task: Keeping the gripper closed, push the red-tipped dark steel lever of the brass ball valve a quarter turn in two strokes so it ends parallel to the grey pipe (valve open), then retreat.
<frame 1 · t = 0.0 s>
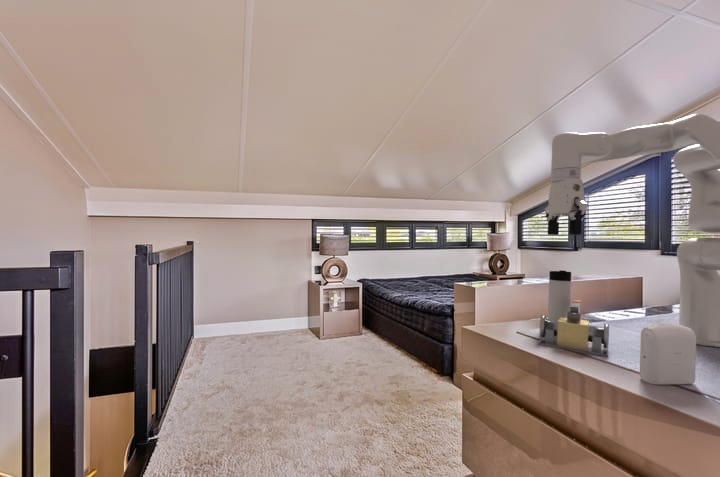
hand: (563, 234, 102), 31 cm above the dresser, tool pointing down, fingers open, 9 cm apart
photo printer: (666, 382, 73), on the dresser
lever: (575, 309, 102), point 9 cm above the dresser, hinge at 90.0°
travel mug: (558, 331, 113), on the dresser
valve body: (572, 346, 97), on the dresser
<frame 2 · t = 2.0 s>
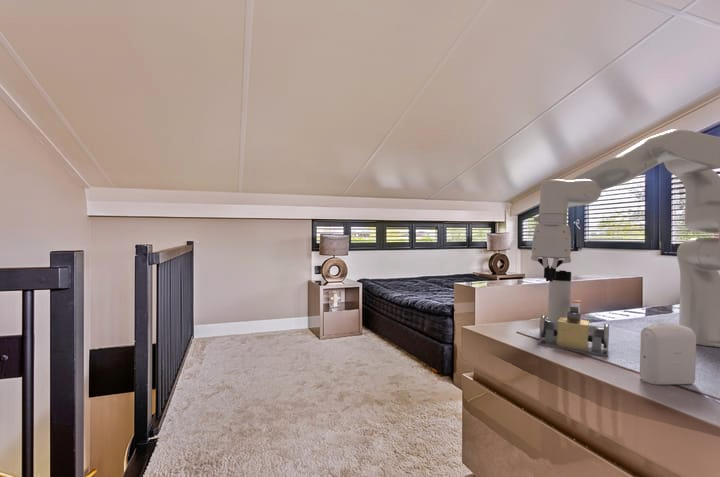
hand: (549, 280, 105), 17 cm above the dresser, tool pointing down, fingers closed
nothing on the dresser moved.
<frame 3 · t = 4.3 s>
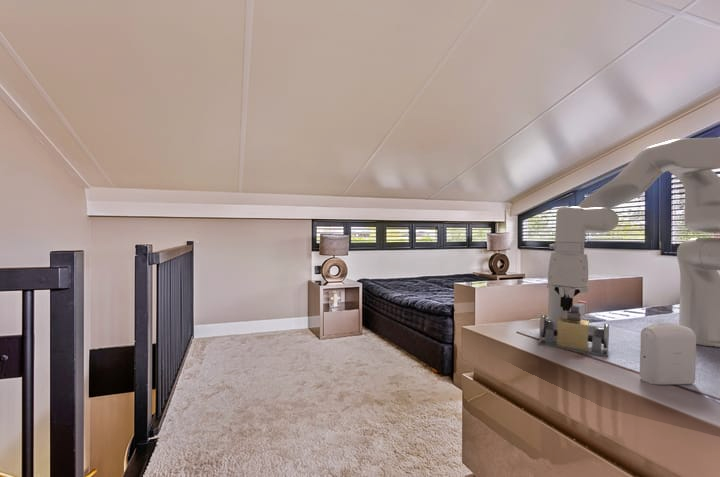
hand: (566, 310, 103), 9 cm above the dresser, tool pointing down, fingers closed
lever: (578, 310, 102), point 9 cm above the dresser, hinge at 83.9°, touching gripper
everything else where it was.
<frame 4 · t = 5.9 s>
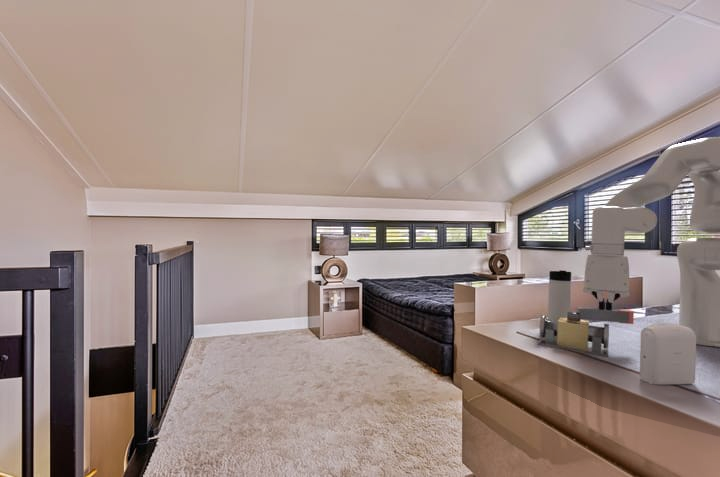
hand: (604, 315, 98), 9 cm above the dresser, tool pointing down, fingers closed
lever: (598, 315, 95), point 9 cm above the dresser, hinge at 22.2°, touching gripper
everything else where it was.
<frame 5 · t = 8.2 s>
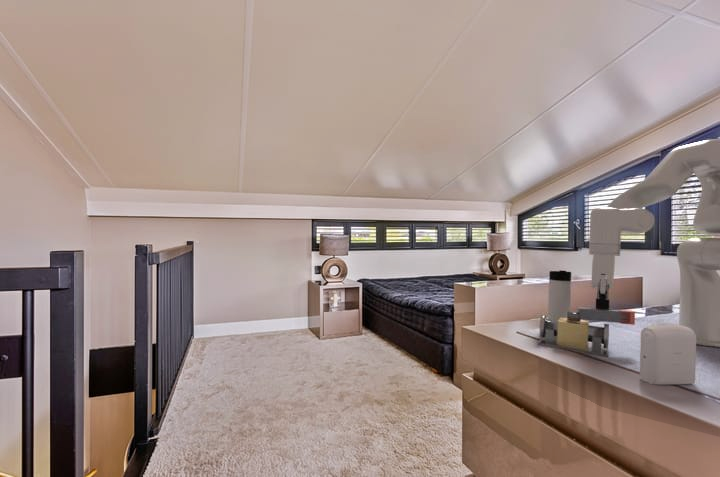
hand: (602, 312, 102), 9 cm above the dresser, tool pointing down, fingers closed
lever: (599, 315, 95), point 9 cm above the dresser, hinge at 19.1°
everything else where it was.
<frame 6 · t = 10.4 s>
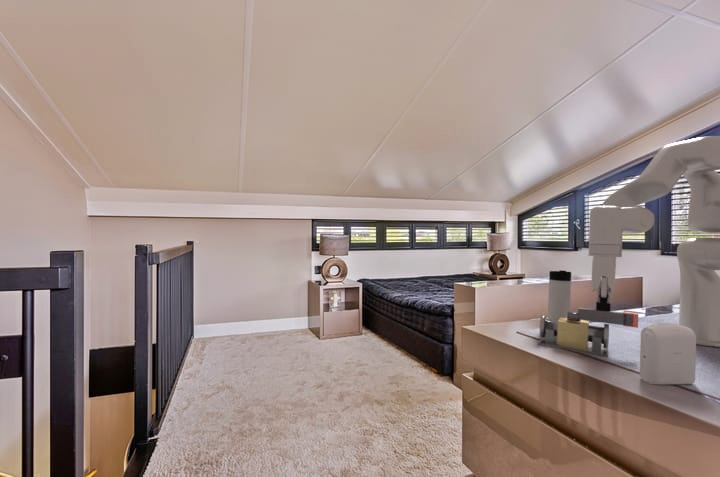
hand: (602, 317, 96), 8 cm above the dresser, tool pointing down, fingers closed
lever: (600, 316, 94), point 9 cm above the dresser, hinge at 3.8°
everything else where it was.
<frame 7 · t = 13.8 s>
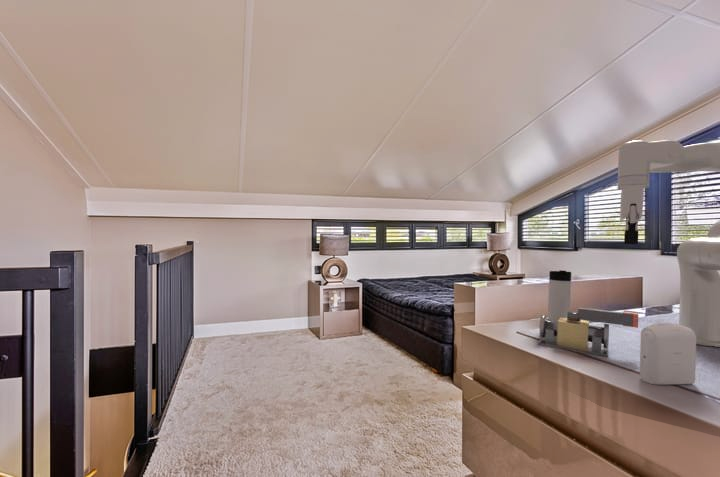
hand: (630, 243, 105), 29 cm above the dresser, tool pointing down, fingers closed
nothing on the dresser moved.
at the end: lever at +4° (first picture: +90°) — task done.
